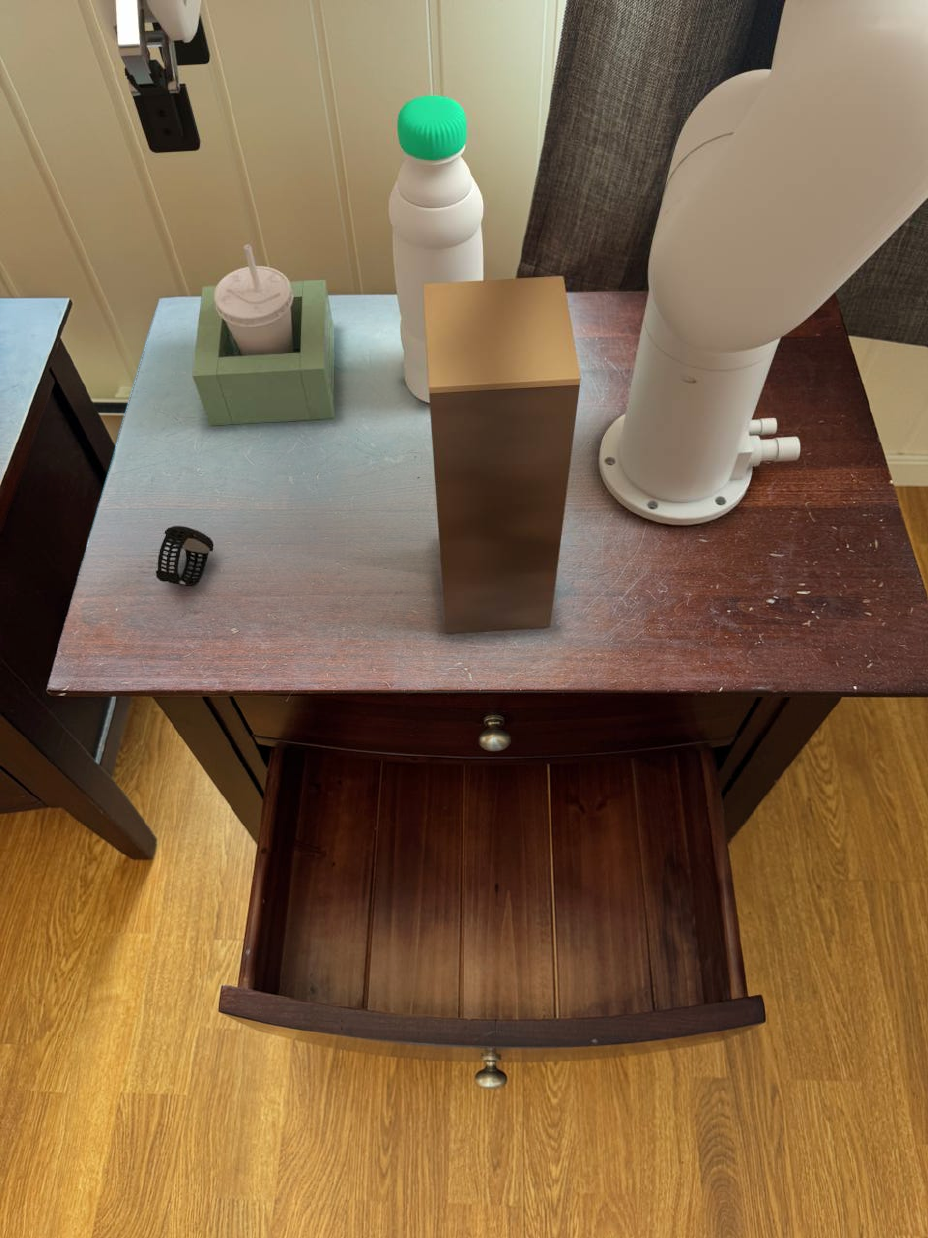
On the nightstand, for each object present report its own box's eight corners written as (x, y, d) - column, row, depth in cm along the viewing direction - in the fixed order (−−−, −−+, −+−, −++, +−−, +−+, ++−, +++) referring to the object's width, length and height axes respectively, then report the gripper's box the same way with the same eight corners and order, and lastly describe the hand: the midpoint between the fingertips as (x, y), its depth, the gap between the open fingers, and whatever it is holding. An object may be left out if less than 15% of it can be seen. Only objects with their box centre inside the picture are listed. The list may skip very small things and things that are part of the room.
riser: (539, 541, 76) (563, 275, 54) (550, 627, 72) (581, 378, 50) (440, 547, 76) (422, 283, 54) (445, 634, 72) (428, 387, 50)
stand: (334, 331, 89) (325, 279, 84) (333, 418, 83) (324, 368, 78) (218, 338, 89) (202, 286, 84) (210, 425, 83) (192, 375, 78)
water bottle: (481, 350, 87) (481, 77, 66) (485, 407, 84) (486, 139, 62) (404, 353, 87) (379, 81, 66) (405, 410, 84) (378, 143, 62)
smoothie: (298, 408, 84) (267, 278, 72) (229, 398, 85) (187, 268, 73) (318, 356, 87) (291, 224, 75) (251, 347, 88) (214, 215, 76)
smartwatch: (229, 565, 76) (214, 528, 71) (184, 611, 74) (165, 575, 69) (192, 541, 77) (174, 503, 73) (146, 585, 75) (125, 548, 70)
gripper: (150, -152, 44) (232, 182, 59) (179, -292, 53) (244, 30, 67) (-14, -145, 44) (110, 189, 58) (43, -286, 53) (138, 36, 67)
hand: (182, 104), depth 63 cm, fingers open, 9 cm apart
